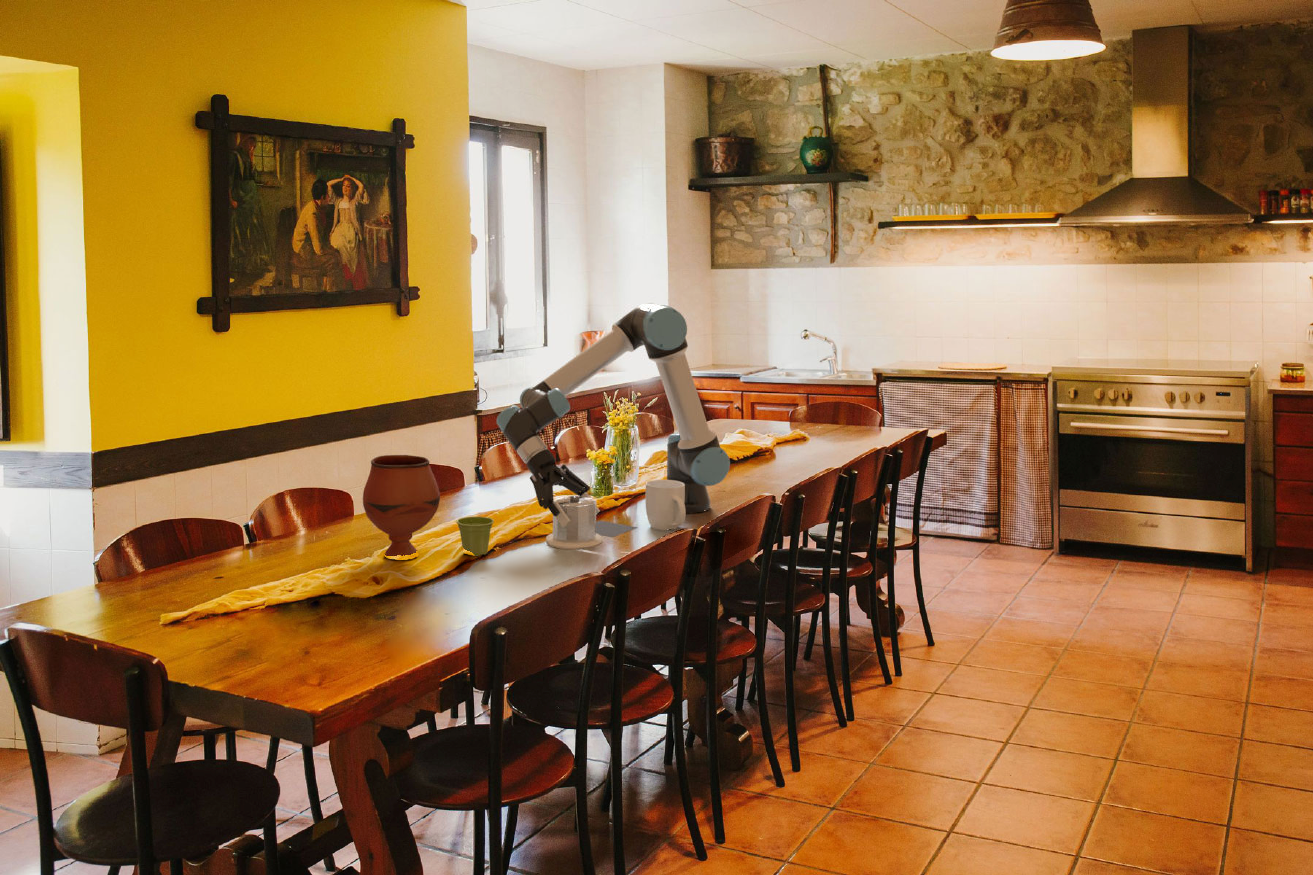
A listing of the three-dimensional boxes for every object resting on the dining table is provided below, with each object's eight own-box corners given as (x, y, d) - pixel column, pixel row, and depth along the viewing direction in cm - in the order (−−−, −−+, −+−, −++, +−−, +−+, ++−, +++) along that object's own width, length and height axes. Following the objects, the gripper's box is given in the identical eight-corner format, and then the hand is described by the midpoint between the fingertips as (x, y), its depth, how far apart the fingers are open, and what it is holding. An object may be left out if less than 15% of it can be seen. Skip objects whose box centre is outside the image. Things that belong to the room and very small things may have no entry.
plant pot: (458, 548, 300) (458, 516, 299) (494, 548, 301) (494, 516, 300) (455, 558, 291) (454, 525, 290) (492, 558, 292) (492, 525, 291)
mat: (599, 522, 331) (599, 520, 331) (638, 529, 324) (638, 527, 324) (573, 531, 320) (573, 529, 320) (612, 539, 313) (612, 537, 313)
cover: (569, 530, 317) (570, 490, 315) (603, 536, 311) (604, 495, 309) (544, 538, 307) (545, 497, 305) (579, 545, 302) (579, 503, 300)
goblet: (414, 570, 280) (413, 470, 276) (347, 561, 286) (344, 462, 282) (454, 551, 298) (453, 456, 293) (390, 542, 304) (388, 449, 300)
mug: (699, 534, 321) (700, 488, 318) (666, 539, 315) (667, 492, 312) (669, 522, 333) (670, 477, 331) (637, 526, 327) (638, 481, 325)
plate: (568, 531, 319) (568, 515, 319) (613, 540, 312) (613, 523, 311) (534, 543, 307) (535, 526, 306) (581, 552, 299) (581, 535, 298)
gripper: (556, 458, 324) (599, 518, 319) (499, 472, 303) (545, 536, 298) (572, 441, 321) (616, 502, 316) (515, 455, 300) (562, 520, 295)
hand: (581, 519), depth 307 cm, fingers open, 13 cm apart
